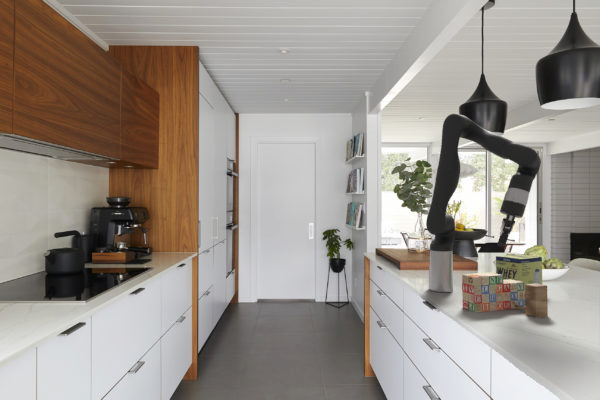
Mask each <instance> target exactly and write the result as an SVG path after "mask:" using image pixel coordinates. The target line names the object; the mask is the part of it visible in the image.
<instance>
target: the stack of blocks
mask: <svg viewBox="0 0 600 400" xmlns="http://www.w3.org/2000/svg"><path fill="white" fill-rule="evenodd" d="M461 279H462V282H461V291H462V292H461V293H462V295H461V296H462V309H465V310H467V311H470V312H474V313H478V312H479V313H482V312H494V311H495V310H496V311H503V309H505V310H513V309H517V308H516V307H515V305H520V306H524V307H525V291H524V282H521V281H516V280H512V279H507V280H503V275H501V274H496V272H495V273H494V272H490V271H489V272H488V271H487V272H477V273H462V275H461Z"/></svg>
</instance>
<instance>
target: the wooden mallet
mask: <svg viewBox="0 0 600 400" xmlns="http://www.w3.org/2000/svg"><path fill="white" fill-rule="evenodd" d="M515 307H516V309H520V310H524V311H525V315H526V316H529V315H530V317H533V318H536V319H537V318H543V317H548V316H549V311H548V310H549V309H548V308H549V307H548V285H547V284H543V283H542V284H537V283H535V284H525V307H524V306H520V305H515Z"/></svg>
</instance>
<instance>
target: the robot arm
mask: <svg viewBox="0 0 600 400" xmlns="http://www.w3.org/2000/svg"><path fill="white" fill-rule="evenodd" d="M441 132H442V133H441V143H440V144H441V145H440V154H439V157H438V166H437V171H436V175H435V183H434V188H433V193H432V197H431V198H432V199H431V203H430V207H429V210H428V213H427V217H426V221H425V222H426V223H425V224H426V225H425V226H426V230H427V232H428V233H430V234H431V235H433V236H434V239H433V241H432V242H430V244H429V267H428V289H429V290H431V291H432V292H439V293H451V292H453V291H454V278H453V277H454V272H453V271H454V270H453V269H454V265H453V264H454V262H453V256H454V255H453V247H454V244H455V241H456V240H455V238H456V237H455V235H456V234H455V233H456V224H455V223H456V222H455V220H454V217H453V216H451V214H449V213H447V210H448V205H449V203H450V200H451V198H452V197H453V195H454V193H455V191H456V190H457V187H458V186H459V185H458V184H459V181H460V176H461V161H460V157H459V143H460V138H461V139H464V140H467V141H468V140H469V141H471V142H474V143H476V144H477V145H479V146H481V147H482V148H483V149H484V150H486V151H487V152H489V153H491V154H493V155H495V156H497V157H500V158H502V159H504V160H509V161H511V162H513V163H515V164H516V165H517V166H518V167H517V170H516V173H514V174H513V175H512V176H511V178H510V181H509V184H508V187H507V189H506V191H505V193H504V196H503V200H502V203H501V206H500V209H499V213H501V214H503V215H505V216H506V217H503V218H502V221H501V226H500V232H499V239H498V241H497V246H499V247H504V246H505V245H506V244H507V242H508V239H509V236H510V235H511V232H512V231H513V228H514V226H515V224H516V218H517V219H521V218H523V217H524V214H525V211H526V207H527V204H528V201H529V196H530V192H531V188H532V186H533V182H534V180H535V179H536V177H537V174H538V173H539V170H540V168H541V163H542V161H541V160H542V159H541V158H540V156H539V154H538V152H537V151H536V150H535V149H534V148H532V147H530V146H528V145H525V144H521V143H517V142H514V141H512V140H510V139H508V138H506V137H503V135H502V136H501V135H499V134H496V133H494V132H492V131H489V130H488V129H485V128H483V127H482V126H480V125H478V124H477V123H476V122H474V121H473V120H472V119H470V118H469V117H467V116H466V115H464V114H463V115H462V114H459V113H451V114H448V116H446V118H445V119H444V121H443V123H442V131H441Z"/></svg>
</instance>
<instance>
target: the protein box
mask: <svg viewBox="0 0 600 400" xmlns="http://www.w3.org/2000/svg"><path fill="white" fill-rule="evenodd" d="M495 273H496V274H501V275H503V280H507V279H512V280H516V281H521V282H524V291H525V284H535V283H537V284H542V285H543V257H542V256H536V255H530V254H529V255H527V254H521V253H520V254H518V253H516V254H509V255H508V254H507V255H497V256H495Z"/></svg>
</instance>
